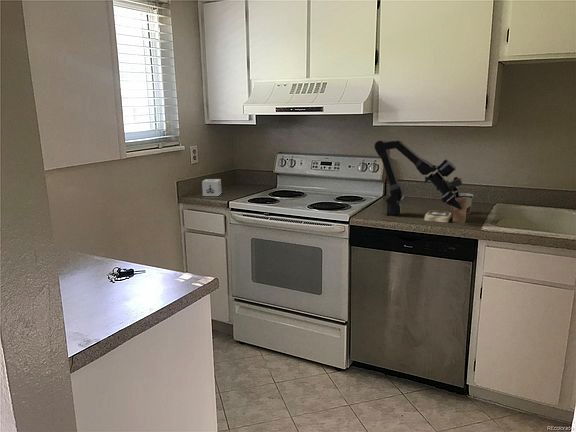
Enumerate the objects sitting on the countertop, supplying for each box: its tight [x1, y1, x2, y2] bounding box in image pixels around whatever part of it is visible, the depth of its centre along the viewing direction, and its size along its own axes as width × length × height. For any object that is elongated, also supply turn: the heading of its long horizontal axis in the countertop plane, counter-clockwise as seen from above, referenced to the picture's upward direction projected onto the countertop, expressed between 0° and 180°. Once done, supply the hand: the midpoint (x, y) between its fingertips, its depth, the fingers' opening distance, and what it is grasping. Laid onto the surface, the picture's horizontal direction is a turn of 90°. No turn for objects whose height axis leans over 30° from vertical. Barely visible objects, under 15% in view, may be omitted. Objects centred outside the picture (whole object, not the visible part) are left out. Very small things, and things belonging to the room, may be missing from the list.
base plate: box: [424, 209, 452, 223], centre depth 235 cm, size 11×11×3 cm
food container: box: [450, 192, 475, 215], centre depth 247 cm, size 12×6×10 cm, turn 92°
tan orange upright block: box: [452, 198, 467, 224], centre depth 230 cm, size 6×6×11 cm
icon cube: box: [201, 178, 222, 197], centre depth 304 cm, size 10×10×10 cm
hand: (462, 206), depth 229 cm, fingers open, 9 cm apart
